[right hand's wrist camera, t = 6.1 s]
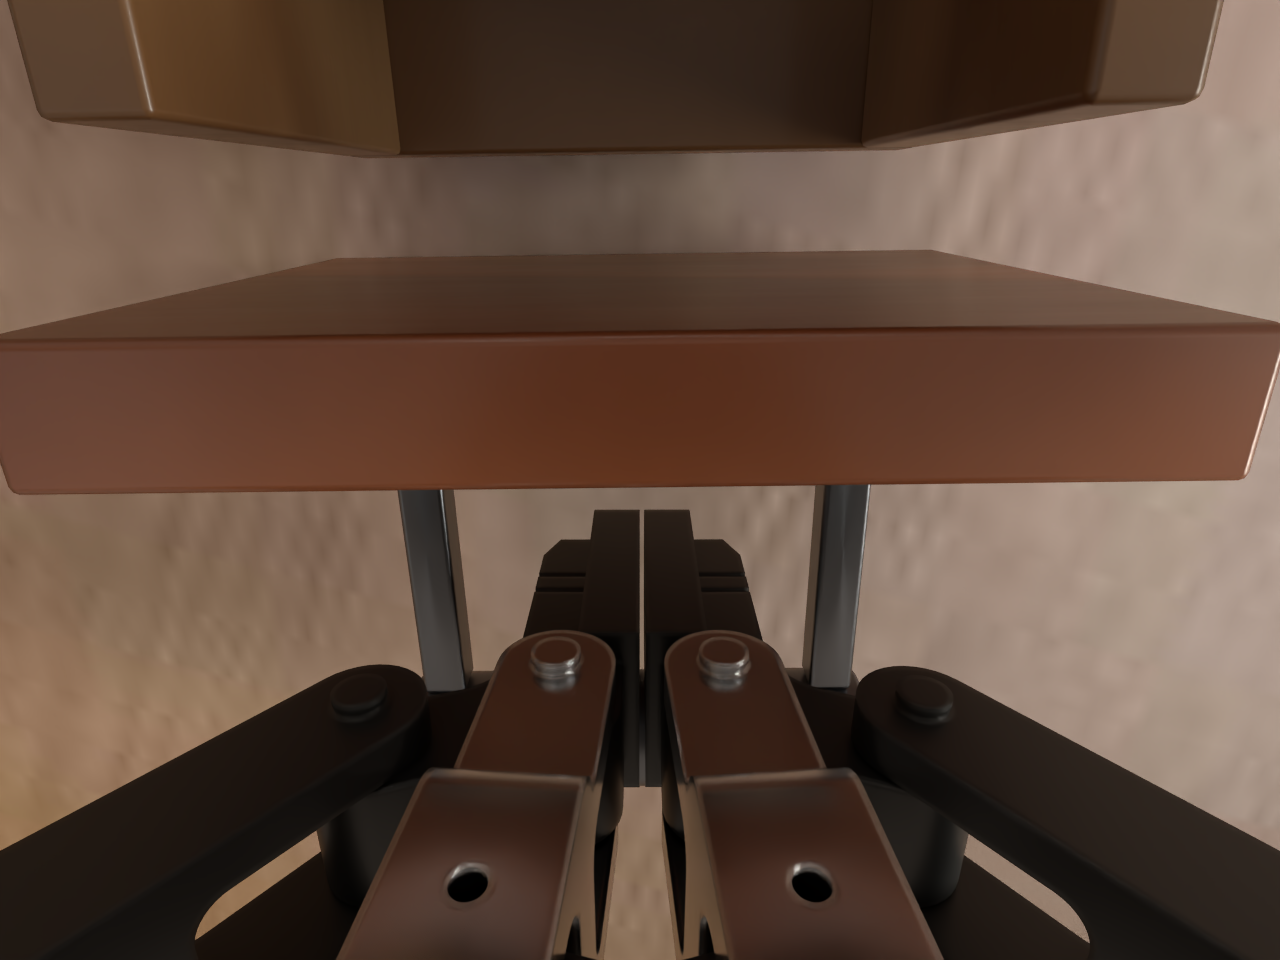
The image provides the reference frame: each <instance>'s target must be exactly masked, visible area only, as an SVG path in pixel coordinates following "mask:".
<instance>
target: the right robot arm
mask: <svg viewBox="0 0 1280 960" xmlns="http://www.w3.org/2000/svg"><path fill="white" fill-rule="evenodd" d="M644 684H645V787H662V848H663V856H664V864H665V872H666V880H667V888H668V896H669V904H670V913H671V921H672V929H673V937H674V945H675V953H676V960H1280V851H1279V850H1277V849H1275V848H1273V847H1271V846H1270V845H1268V844H1266V843H1264V842H1262V841H1260V840H1258V839H1256V838H1254V837H1253V836H1251V835H1249V834H1247V833H1245V832H1243V831H1241V830H1239V829H1237V828H1236V827H1234V826H1232V825H1230V824H1228V823H1226V822H1224V821H1222V820H1220V819H1219V818H1217V817H1215V816H1213V815H1211V814H1209V813H1207V812H1205V811H1203V810H1202V809H1200V808H1198V807H1196V806H1194V805H1192V804H1190V803H1188V802H1186V801H1185V800H1183V799H1181V798H1179V797H1177V796H1175V795H1173V794H1171V793H1169V792H1168V791H1166V790H1164V789H1162V788H1160V787H1158V786H1156V785H1154V784H1152V783H1151V782H1149V781H1147V780H1145V779H1143V778H1141V777H1139V776H1137V775H1135V774H1134V773H1132V772H1130V771H1128V770H1126V769H1124V768H1122V767H1120V766H1118V765H1117V764H1115V763H1113V762H1111V761H1109V760H1107V759H1105V758H1103V757H1101V756H1100V755H1098V754H1096V753H1094V752H1092V751H1090V750H1088V749H1086V748H1084V747H1083V746H1081V745H1079V744H1077V743H1075V742H1073V741H1071V740H1069V739H1068V738H1066V737H1064V736H1062V735H1060V734H1058V733H1056V732H1054V731H1052V730H1051V729H1049V728H1047V727H1045V726H1043V725H1041V724H1039V723H1037V722H1035V721H1034V720H1032V719H1030V718H1028V717H1026V716H1024V715H1022V714H1020V713H1018V712H1017V711H1015V710H1013V709H1011V708H1009V707H1007V706H1005V705H1003V704H1001V703H1000V702H998V701H996V700H994V699H992V698H990V697H988V696H986V695H984V694H983V693H981V692H979V691H977V690H975V689H973V688H971V687H969V686H967V685H966V684H964V683H962V682H960V681H958V680H956V679H954V678H952V677H950V676H947V675H945V674H942V673H939V672H936V671H932V670H929V669H924V668H918V667H910V666H893V667H886V668H882V669H878V670H875V671H873V672H871V673H869V674H868V675H866V676H865V677H864V678H863V679H862V680H861V681H860V682H859V684H858V687H857V689H856V696H854V695H849V694H845V693H840V692H835V691H830V690H826V689H822V688H818V687H814V686H811V685H808V684H805V683H803V682H801V681H798V680H796V679H794V678H792V677H791V676H789V675H788V674H787V672H786V670H785V667H784V665H783V662H782V660H781V658H780V657H779V655H778V653H777V652H776V651H775V650H774V649H773V648H772V647H770V646H769V645H768V644H767V643H765V642H763V640H762V636H761V632H760V629H759V625H758V621H757V617H756V614H755V610H754V606H753V602H752V598H751V595H750V592H749V587H748V583H747V580H746V577H745V572H744V568H743V564H742V561H741V557H740V555H739V554H738V553H737V552H736V551H735V550H734V549H733V548H732V547H730V546H729V545H728V544H727V543H726V542H725V541H724V540H694V538H693V531H692V525H691V518H690V511H689V510H644ZM639 686H640V510H595V511H594V517H593V525H592V532H591V539H590V540H560V541H559V542H558V543H557V544H556V545H555V546H554V547H552V548H551V549H550V550H549V551H548V552H547V553H546V554H545V555H544V557H543V561H542V565H541V569H540V573H539V577H538V581H537V585H536V592H535V593H534V596H533V600H532V604H531V608H530V612H529V616H528V620H527V624H526V628H525V632H524V636H523V638H522V639H520V640H518V641H517V642H515V643H513V644H512V645H511V646H509V647H508V648H507V649H506V650H505V651H504V652H503V653H502V655H501V656H500V658H499V660H498V662H497V665H496V667H495V669H494V672H493V674H492V677H491V679H490V680H487V681H485V682H483V683H481V684H478V685H475V686H472V687H469V688H465V689H461V690H456V691H452V692H447V693H442V694H438V695H433V696H427V688H426V685H425V683H424V681H423V680H422V678H421V677H420V676H419V675H417V674H416V673H415V672H413V671H411V670H409V669H406V668H403V667H400V666H394V665H367V666H361V667H356V668H352V669H348V670H345V671H342V672H339V673H337V674H334V675H332V676H330V677H328V678H326V679H324V680H322V681H320V682H318V683H316V684H314V685H313V686H311V687H309V688H307V689H305V690H303V691H301V692H299V693H297V694H296V695H294V696H292V697H290V698H288V699H286V700H284V701H282V702H280V703H279V704H277V705H275V706H273V707H271V708H269V709H267V710H265V711H264V712H262V713H260V714H258V715H256V716H254V717H252V718H250V719H248V720H247V721H245V722H243V723H241V724H239V725H237V726H235V727H233V728H231V729H230V730H228V731H226V732H224V733H222V734H220V735H218V736H216V737H214V738H213V739H211V740H209V741H207V742H205V743H203V744H201V745H199V746H197V747H196V748H194V749H192V750H190V751H188V752H186V753H184V754H182V755H180V756H179V757H177V758H175V759H173V760H171V761H169V762H167V763H165V764H163V765H162V766H160V767H158V768H156V769H154V770H152V771H150V772H148V773H146V774H145V775H143V776H141V777H139V778H137V779H135V780H133V781H131V782H129V783H128V784H126V785H124V786H122V787H120V788H118V789H116V790H114V791H112V792H111V793H109V794H107V795H105V796H103V797H101V798H99V799H97V800H95V801H94V802H92V803H90V804H88V805H86V806H84V807H82V808H80V809H78V810H77V811H75V812H73V813H71V814H69V815H67V816H65V817H63V818H61V819H60V820H58V821H56V822H54V823H52V824H50V825H48V826H46V827H44V828H43V829H41V830H39V831H37V832H35V833H33V834H31V835H29V836H27V837H26V838H24V839H22V840H20V841H18V842H16V843H14V844H12V845H10V846H9V847H7V848H5V849H3V850H1V851H0V960H604V952H605V944H606V936H607V928H608V920H609V912H610V904H611V896H612V888H613V880H614V871H615V863H616V855H617V847H618V823H619V821H620V818H621V816H622V811H623V792H624V787H639ZM316 830H317V835H318V840H319V844H320V849H321V852H320V853H318V854H317V855H315V856H314V857H313V858H311V859H310V860H308V861H307V862H306V863H304V864H303V865H301V866H300V867H299V868H297V869H296V870H294V871H293V872H291V873H290V874H289V875H287V876H286V877H284V878H283V879H282V880H280V881H279V882H277V883H276V884H275V885H273V886H272V887H270V888H269V889H267V890H266V891H265V892H263V893H262V894H260V895H259V896H258V897H256V898H255V899H253V900H252V901H251V902H249V903H248V904H246V905H245V906H243V907H242V908H241V909H239V910H238V911H236V912H235V913H234V914H232V915H231V916H229V917H228V918H227V919H225V920H224V921H222V922H221V923H219V924H218V925H217V926H215V927H214V928H212V929H211V930H210V931H208V932H207V933H205V934H204V935H203V936H201V937H200V938H198V939H196V940H195V936H196V932H197V929H198V926H199V924H200V922H201V920H202V919H203V917H204V915H205V914H206V912H207V911H208V910H209V908H210V907H211V906H212V905H213V904H214V903H215V902H216V901H217V900H218V899H219V898H220V897H221V896H222V895H223V894H224V893H226V892H227V891H228V890H230V889H231V888H233V887H234V886H235V885H237V884H238V883H240V882H241V881H243V880H244V879H246V878H247V877H249V876H250V875H252V874H253V873H255V872H256V871H257V870H259V869H260V868H262V867H263V866H265V865H266V864H268V863H269V862H271V861H272V860H274V859H275V858H276V857H278V856H279V855H281V854H282V853H284V852H285V851H287V850H288V849H290V848H291V847H293V846H294V845H296V844H297V843H298V842H300V841H301V840H303V839H304V838H306V837H307V836H309V835H310V834H312V833H313V832H315V831H316ZM968 834H970V835H971V836H973V837H974V838H976V839H977V840H979V841H980V842H982V843H983V844H984V845H986V846H987V847H989V848H990V849H992V850H993V851H995V852H996V853H998V854H999V855H1001V856H1002V857H1004V858H1005V859H1006V860H1008V861H1009V862H1011V863H1012V864H1014V865H1015V866H1017V867H1018V868H1020V869H1021V870H1023V871H1024V872H1025V873H1027V874H1028V875H1030V876H1031V877H1033V878H1034V879H1036V880H1037V881H1039V882H1040V883H1042V884H1043V885H1045V886H1046V887H1047V888H1049V889H1050V890H1052V891H1053V892H1055V893H1056V894H1057V895H1059V896H1060V897H1061V898H1062V899H1064V900H1065V901H1066V902H1067V903H1068V904H1069V905H1070V906H1071V907H1072V908H1073V910H1074V911H1075V912H1076V913H1077V915H1078V916H1079V917H1080V919H1081V921H1082V922H1083V924H1084V926H1085V928H1086V930H1087V933H1088V936H1089V940H1090V943H1088V942H1086V941H1085V940H1083V939H1082V938H1080V937H1079V936H1077V935H1076V934H1075V933H1073V932H1072V931H1070V930H1069V929H1068V928H1066V927H1065V926H1063V925H1062V924H1061V923H1059V922H1058V921H1056V920H1055V919H1053V918H1052V917H1051V916H1049V915H1048V914H1046V913H1045V912H1044V911H1042V910H1041V909H1039V908H1038V907H1037V906H1035V905H1034V904H1032V903H1031V902H1029V901H1028V900H1027V899H1025V898H1024V897H1022V896H1021V895H1020V894H1018V893H1017V892H1015V891H1014V890H1013V889H1011V888H1010V887H1008V886H1007V885H1006V884H1004V883H1003V882H1001V881H1000V880H998V879H997V878H996V877H994V876H993V875H991V874H990V873H989V872H987V871H986V870H984V869H983V868H982V867H980V866H979V865H977V864H976V863H974V862H973V861H972V860H970V859H969V858H967V857H966V856H965V855H964V853H965V848H966V843H967V839H968Z"/></svg>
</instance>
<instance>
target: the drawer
mask: <svg viewBox="0 0 1280 960" xmlns="http://www.w3.org/2000/svg"><path fill="white" fill-rule="evenodd" d="M7 1H8V5H9V8H10V12H11V16H12V20H13V23H14V27H15V31H16V34H17V38H18V42H19V45H20V49H21V53H22V56H23V60H24V64H25V67H26V71H27V75H28V78H29V82H30V86H31V89H32V93H33V97H34V101H35V104H36V108H37V110H38V112H39V114H40V115H41V117H43V118H45V119H47V120H50V121H52V122H60V123H68V124H77V125H86V126H94V127H103V128H111V129H120V130H129V131H137V132H146V133H155V134H163V135H172V136H181V137H189V138H198V139H207V140H215V141H224V142H233V143H241V144H250V145H259V146H267V147H276V148H285V149H293V150H302V151H310V152H319V153H328V154H336V155H345V156H354V157H362V158H406V157H471V156H537V155H602V154H667V153H732V152H797V151H862V150H899V149H906V148H912V147H917V146H923V145H929V144H936V143H942V142H948V141H955V140H961V139H967V138H974V137H980V136H986V135H992V134H999V133H1005V132H1011V131H1018V130H1024V129H1030V128H1037V127H1043V126H1049V125H1056V124H1062V123H1068V122H1075V121H1081V120H1087V119H1094V118H1100V117H1106V116H1113V115H1119V114H1125V113H1132V112H1138V111H1144V110H1151V109H1157V108H1163V107H1169V106H1176V105H1182V104H1186V103H1188V102H1190V101H1193V100H1195V99H1196V98H1198V97H1199V96H1200V94H1201V92H1202V90H1203V88H1204V85H1205V81H1206V77H1207V72H1208V68H1209V63H1210V59H1211V55H1212V50H1213V46H1214V41H1215V37H1216V33H1217V28H1218V24H1219V19H1220V15H1221V11H1222V6H1223V2H1224V0H7ZM1279 369H1280V323H1278V322H1275V321H1270V320H1265V319H1260V318H1256V317H1251V316H1246V315H1241V314H1236V313H1232V312H1227V311H1222V310H1217V309H1212V308H1208V307H1203V306H1198V305H1193V304H1188V303H1184V302H1179V301H1174V300H1169V299H1164V298H1160V297H1155V296H1150V295H1145V294H1140V293H1135V292H1131V291H1126V290H1121V289H1116V288H1111V287H1107V286H1102V285H1097V284H1092V283H1087V282H1083V281H1078V280H1073V279H1068V278H1063V277H1059V276H1054V275H1049V274H1044V273H1039V272H1035V271H1030V270H1025V269H1020V268H1015V267H1011V266H1006V265H1001V264H996V263H991V262H987V261H982V260H977V259H972V258H967V257H963V256H958V255H953V254H948V253H943V252H939V251H934V250H890V251H820V252H750V253H680V254H610V255H540V256H470V257H400V258H336V259H332V260H328V261H323V262H319V263H314V264H310V265H305V266H301V267H296V268H292V269H287V270H283V271H279V272H274V273H270V274H265V275H261V276H256V277H252V278H247V279H243V280H238V281H234V282H229V283H225V284H221V285H216V286H212V287H207V288H203V289H198V290H194V291H189V292H185V293H180V294H176V295H172V296H167V297H163V298H158V299H154V300H149V301H145V302H140V303H136V304H131V305H127V306H122V307H118V308H114V309H109V310H105V311H100V312H96V313H91V314H87V315H82V316H78V317H73V318H69V319H65V320H60V321H56V322H51V323H47V324H42V325H38V326H33V327H29V328H24V329H20V330H16V331H11V332H7V333H2V334H0V463H1V466H2V469H3V472H4V475H5V478H6V481H7V484H8V487H9V488H10V489H11V490H12V492H13V493H16V494H19V495H38V494H122V493H206V492H290V491H374V490H398V497H399V504H400V511H401V518H402V526H403V533H404V540H405V547H406V554H407V561H408V569H409V576H410V583H411V590H412V597H413V604H414V612H415V619H416V626H417V633H418V640H419V647H420V655H421V662H422V669H423V676H422V680H423V681H424V683H425V685H426V688H427V696H433V695H438V694H442V693H447V692H452V691H456V690H461V689H465V688H469V687H472V686H475V685H478V684H481V683H483V682H485V681H487V680H490V679H491V677H492V674H493V672H494V671H473V661H472V652H471V643H470V634H469V625H468V616H467V607H466V598H465V589H464V580H463V571H462V562H461V553H460V544H459V535H458V526H457V517H456V508H455V499H454V490H458V489H543V488H627V487H711V486H795V485H816V486H815V500H814V513H813V527H812V540H811V553H810V567H809V580H808V593H807V607H806V620H805V633H804V647H803V660H802V666H803V668H785V670H786V672H787V674H788V675H789V676H791V677H792V678H794V679H796V680H798V681H801V682H803V683H805V684H808V685H811V686H814V687H818V688H822V689H826V690H830V691H835V692H840V693H845V694H849V695H854V696H856V689H857V687H858V684H859V681H858V679H857V677H856V675H855V673H854V672H853V671H852V662H853V652H854V643H855V633H856V623H857V614H858V604H859V594H860V585H861V575H862V565H863V556H864V546H865V536H866V526H867V517H868V507H869V497H870V488H871V485H879V484H963V483H1048V482H1132V481H1216V480H1240V479H1243V478H1245V477H1246V475H1247V474H1248V473H1249V470H1250V467H1251V464H1252V460H1253V457H1254V454H1255V450H1256V447H1257V443H1258V440H1259V437H1260V433H1261V430H1262V426H1263V423H1264V420H1265V416H1266V413H1267V409H1268V406H1269V403H1270V399H1271V396H1272V393H1273V389H1274V386H1275V382H1276V379H1277V376H1278V372H1279ZM639 786H645V684H644V669H640V686H639Z"/></svg>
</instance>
